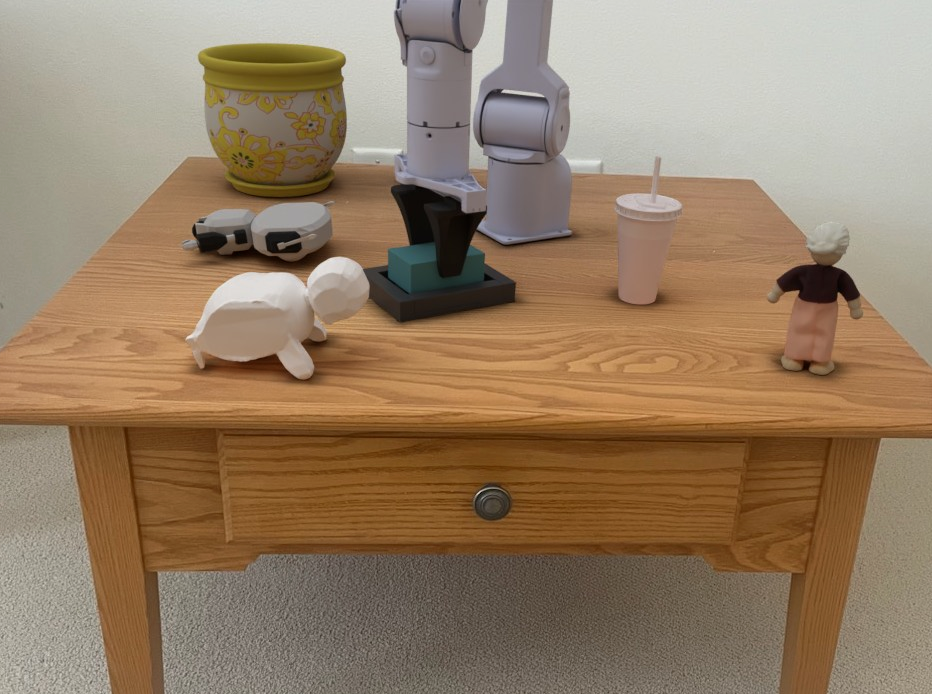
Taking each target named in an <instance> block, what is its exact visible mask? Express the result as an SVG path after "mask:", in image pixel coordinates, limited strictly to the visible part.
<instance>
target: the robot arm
mask: <svg viewBox="0 0 932 694" xmlns="http://www.w3.org/2000/svg"><path fill="white" fill-rule="evenodd" d="M488 2H489V0H395V9H394V10H393V20H394V22H393V23H394V28H395V31H396V35H397V37H398V40H399V46H400V60H401V64H402V66H404V67H406V120H407V121H406V153H401V154H400V153H397V154H396V153H395V154H394V157H393V160H394V161H393V163H394V165H393V166H394V172H393V173H394V175H395V181H397V182H398V183H399V184H394V185H392V186H390V194H391V195H392V197H393V199H394V200H395V202H396V204H397V208H398V210H399V212H400V214H401V217H402V221H403V223H404V228H405V229H406V230H405V231H406V236H407V239H408V244H409V246H411V245H418V244H425V243H432V242H435V250H436V261H437V268H438V272H439V276H440V277H442V278H447V277H454V276H460V275H461V273H462V270H463V266H464V263H465V259H466V256H467V252H468V249H469V246H470V245H471V243H472V240H473V238H474V236H475V233H476V232H477V231H478V232H480V233H482V234H484V235H486V236H487V237H489V238H490V239H493V240H494V241H497V242H498V243H500V244H502V245H505V246H506V245H514V244H521V243H528V242H535V241H541V240H548V239H555V238H562V237H568V236H572V233H573V230H571V229H569V223H570V213H571V200H572V190H573V189H572V187H573V175H572V171H571V170H572V169H571V167H570V163H569V162H568V160H567V158H566V157H565V156H564V155H562V154H561V153H562V152H563V151H564V149H565V148H566V145H567V142H568V139H569V134H570V127H571V110H570V94H571V92H570V86H569V85H568V84H567V82H566V81H565V80H564V79H563V78H562V77H561V76H560V75H559V74H558V73H557V72H556V70H554V69H553V68H552V67H551V65H549V63H548V58H549V48H550V37H551V29H552V28H551V27H552V15H553V7H554V6H553V5H554V0H507V3H506V16H505V29H504V40H503V41H504V43H503V55H502V63H501V64H499V65H498V66H497V67H495V68H494V69H493V70H491V71H489V72H488V73H486V75H484V77H482V79H481V80H480V83H479V89H478V95H477V99H476V100H477V101H476V104H475V107H474V111H473V116H472V132H473V136H474V139H475V141H476V143H477V145H478V146H479V147H480V148H482V155H483V156H486V157H487V175H486V177H487V178H486V188H484V187H482V186H481V185H480V184H479V182H478V180H477V179H476V178H475V176H474V174H473V173H472V172H471V170H470V147H471V145H470V144H471V143H470V141H471V115H472V114H471V113H472V112H471V111H472V81H473V79H472V77H473V54H474V53H473V51H474V49H476V48H477V46H478V45H479V43H480V41H481V38H482V37H483V34H484V29H485V25H486V14H487V12H486V11H487V5H488V4H489V3H488ZM505 90H506V91H514V92H525V93H533V94H534V93H535V94H539V95H541V96H536V95H529V94H519V93H511V92H503V91H505ZM484 218H485V220H484Z"/></svg>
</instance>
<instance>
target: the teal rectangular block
mask: <svg viewBox="0 0 932 694" xmlns="http://www.w3.org/2000/svg"><path fill="white" fill-rule="evenodd" d="M485 264H486V253H485V252H484V251H482V250H481V249H478V248H477V247H475V246H474V245H472V244H470V246H469V249H468V252H467V256H466V259H465V263H464V266H463V270H462V273H461V275H460V276H454V277H447V278H442V277H440V276H439V272H438V268H437V261H436V250H435V242H432V243H425V244H418V245H411V246H410V245H404V246H397V247H390V248H387V265H388V278H389V279H390V280H392V281H393V282H394V283H396V284H397V285H398V286H400V287H401V288H403V289H404V290H405V291H407V292H408V293H409V294H412V293H418V292H424V291H430V290H436V289H442V288H448V287H454V286H460V285H466V284H472V283H478V282H484V266H485Z"/></svg>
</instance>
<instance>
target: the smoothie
mask: <svg viewBox="0 0 932 694" xmlns="http://www.w3.org/2000/svg"><path fill="white" fill-rule="evenodd" d="M661 164H662V156H655V157H654V165H653V171H652V172H653V174H652V180H651V190H650V193H643V192H642V193H636V192H635V193H627V194H622V195H620V196H618V197H617V198H616V199H615V206H614V212H615V213H616V214H617V281H618V282H617V283H618V284H617V285H618V288H617V289H618V293H617V294H618V299H619V300H621V301H622V302H625V303H627V304H633V305H649V304H653V303H654V302H656V299H657V295H658V291H659V288H660V284H661V280H662V277H663V273H664V270H665V266H666V262H667V258H668V255H669V251H670V247H671V242H672V240H673V236H674V233H675V229H676V224H677V220H678V219H680V218H681V217H682V209H683V204H682V203H681V202H680V201H679V200H677V199H675V198H672V197H670V196H667V195H663V194H662V195H661V194H658V187H659V178H660V172H661Z"/></svg>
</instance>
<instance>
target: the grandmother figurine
mask: <svg viewBox="0 0 932 694" xmlns="http://www.w3.org/2000/svg"><path fill="white" fill-rule="evenodd" d="M850 239H851V238H850V232H849V229H848V227H847V226H846V225H845V224H843V223H841V222H836V221H832V220H831V221H827V222H824V223H821V224H818V225H817V226H816V227H815V228H814V229H813V230H812V232H811V233H809V234H808V235H807V238H806V245H805V246H804V248H805V249H807V250H808V251H809V253H810V256H811V258H812V260H813V262H814V264H813V263H812V264H811V263H810V264H808V263H807V264H801V265H797V266H794V267H792V268H790V269H789V270H787V271H786V272H784V273H783V274H781V276H779V277H778V278H777V279H776V280H775V281H776V283H775V284H774V285H773V287H772V290H771V291H770V292H768V294H767V295H766V300H767V302H768V303H769V304H776V303H778V302H779V301H780V298H781V297H782V296H783V295H784V294H785V293H790V292H797V291H798V293H797V296H796V297H795V298H794V301H793V305H792V308H791V313H790V316H789V322H788V325H787V331H786V338H785V344H784V345H785V346H784V354H783V355H782V356H781V358H780V362H781V365H782V367H783V368H784V369H785V370H788V371H793V372H794V371H795V372H800V371H802V370H803V368H804V365H805V361H810V364H809V367H808V371H809V372H810V373H812V374H815V375H819V376H826V375H828V374H829V373H831V372H832V371H834V370H835V363H834V362H833V360H832V355H833V350H834V345H835V338H836V331H837V330H836V329H837V324H838V315H839V303H838V294H840V295H841V296H842V298H843V299H844V301H846V303H847V307H848V309H849V316H850V318H851V319H852V320H857V321H858V320H861V319H862V318H863V316H864V311H863V309H862V301H861V293H860V291H859V290H858V287H857V285H856V283H855V281H854V279H853V277H852V276H851V275H850V273H848V272H847V271H846V270H844V269H842V268H840V267H837V266H834V265H836V264H837V263H839V262H840V261H841V259H842V258H843V256H844V255H847V249H848V248H849V246H850Z"/></svg>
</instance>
